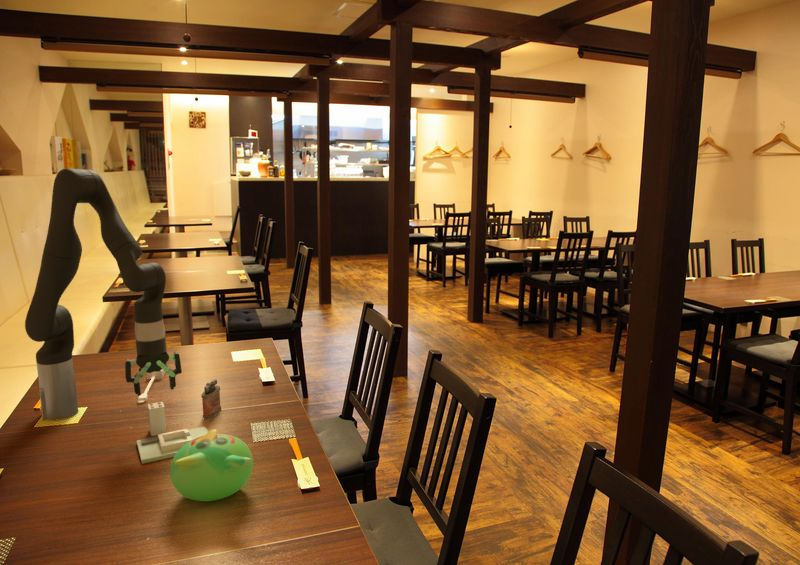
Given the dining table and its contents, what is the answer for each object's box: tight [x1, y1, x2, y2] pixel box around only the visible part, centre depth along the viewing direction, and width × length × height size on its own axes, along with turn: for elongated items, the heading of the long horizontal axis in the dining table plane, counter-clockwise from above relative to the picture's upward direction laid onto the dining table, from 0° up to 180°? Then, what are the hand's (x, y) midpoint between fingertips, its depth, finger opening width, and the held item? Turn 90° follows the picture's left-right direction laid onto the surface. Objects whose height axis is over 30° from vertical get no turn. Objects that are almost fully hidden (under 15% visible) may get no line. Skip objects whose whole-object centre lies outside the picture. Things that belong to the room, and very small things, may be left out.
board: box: [136, 426, 209, 465], centre depth 157 cm, size 18×12×3 cm, turn 119°
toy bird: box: [169, 428, 254, 502], centre depth 133 cm, size 18×17×15 cm
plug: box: [147, 401, 168, 437], centre depth 164 cm, size 4×4×8 cm
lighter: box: [200, 379, 222, 420], centre depth 176 cm, size 8×3×10 cm, turn 168°
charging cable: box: [137, 362, 168, 404], centre depth 198 cm, size 5×32×3 cm, turn 12°
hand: (155, 391), depth 162 cm, fingers open, 8 cm apart
